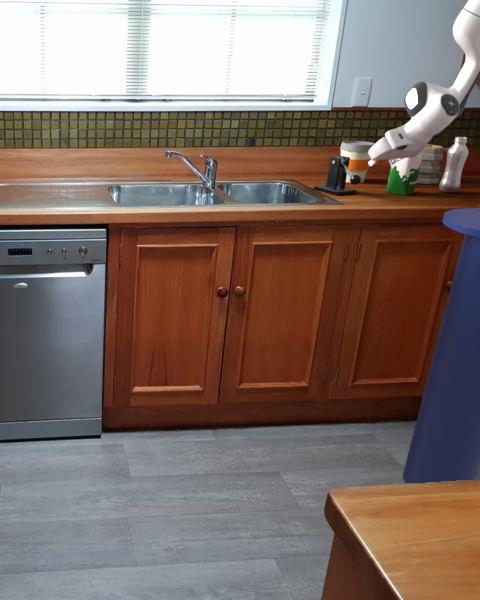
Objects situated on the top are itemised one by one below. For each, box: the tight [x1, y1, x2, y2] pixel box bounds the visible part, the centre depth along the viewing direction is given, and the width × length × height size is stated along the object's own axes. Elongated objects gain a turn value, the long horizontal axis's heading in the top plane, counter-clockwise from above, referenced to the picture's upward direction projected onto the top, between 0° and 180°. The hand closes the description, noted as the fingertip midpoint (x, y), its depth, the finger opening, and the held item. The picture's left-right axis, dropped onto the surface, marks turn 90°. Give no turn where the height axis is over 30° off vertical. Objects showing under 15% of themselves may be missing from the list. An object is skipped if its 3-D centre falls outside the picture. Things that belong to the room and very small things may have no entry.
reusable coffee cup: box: [339, 140, 376, 184], centre depth 243 cm, size 13×13×15 cm
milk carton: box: [386, 148, 425, 197], centre depth 221 cm, size 9×9×20 cm
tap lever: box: [340, 157, 361, 186], centre depth 220 cm, size 13×4×4 cm
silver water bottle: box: [438, 136, 469, 194], centre depth 223 cm, size 6×7×20 cm
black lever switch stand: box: [313, 155, 358, 197], centre depth 224 cm, size 12×9×13 cm
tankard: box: [416, 143, 451, 185], centre depth 242 cm, size 20×13×15 cm, turn 67°
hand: (380, 163), depth 207 cm, fingers open, 8 cm apart
